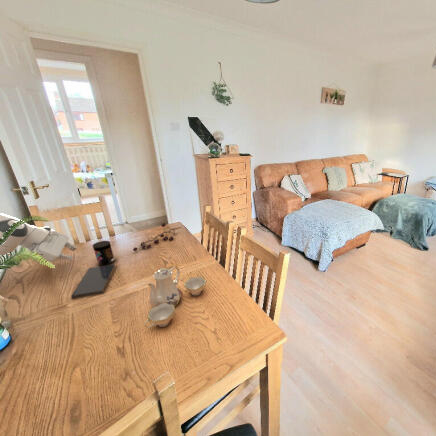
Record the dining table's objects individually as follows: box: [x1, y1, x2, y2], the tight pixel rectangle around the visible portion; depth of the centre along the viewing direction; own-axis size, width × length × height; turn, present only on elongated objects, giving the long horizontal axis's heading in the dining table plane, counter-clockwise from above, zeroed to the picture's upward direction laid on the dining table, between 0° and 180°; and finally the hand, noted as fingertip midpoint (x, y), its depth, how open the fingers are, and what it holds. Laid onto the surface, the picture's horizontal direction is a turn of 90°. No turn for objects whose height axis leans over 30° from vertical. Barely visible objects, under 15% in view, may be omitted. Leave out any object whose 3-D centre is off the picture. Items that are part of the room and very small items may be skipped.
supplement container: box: [92, 240, 116, 266], centre depth 115 cm, size 7×7×10 cm
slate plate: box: [71, 263, 116, 300], centre depth 104 cm, size 10×20×2 cm, turn 22°
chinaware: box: [144, 266, 207, 329], centre depth 91 cm, size 28×17×17 cm, turn 167°
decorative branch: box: [132, 222, 182, 252], centre depth 138 cm, size 11×9×30 cm
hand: (73, 254), depth 110 cm, fingers open, 8 cm apart
